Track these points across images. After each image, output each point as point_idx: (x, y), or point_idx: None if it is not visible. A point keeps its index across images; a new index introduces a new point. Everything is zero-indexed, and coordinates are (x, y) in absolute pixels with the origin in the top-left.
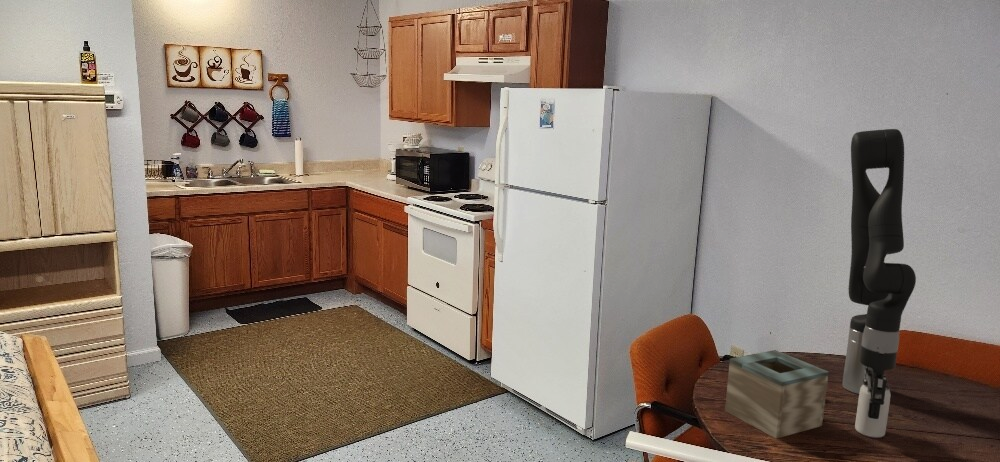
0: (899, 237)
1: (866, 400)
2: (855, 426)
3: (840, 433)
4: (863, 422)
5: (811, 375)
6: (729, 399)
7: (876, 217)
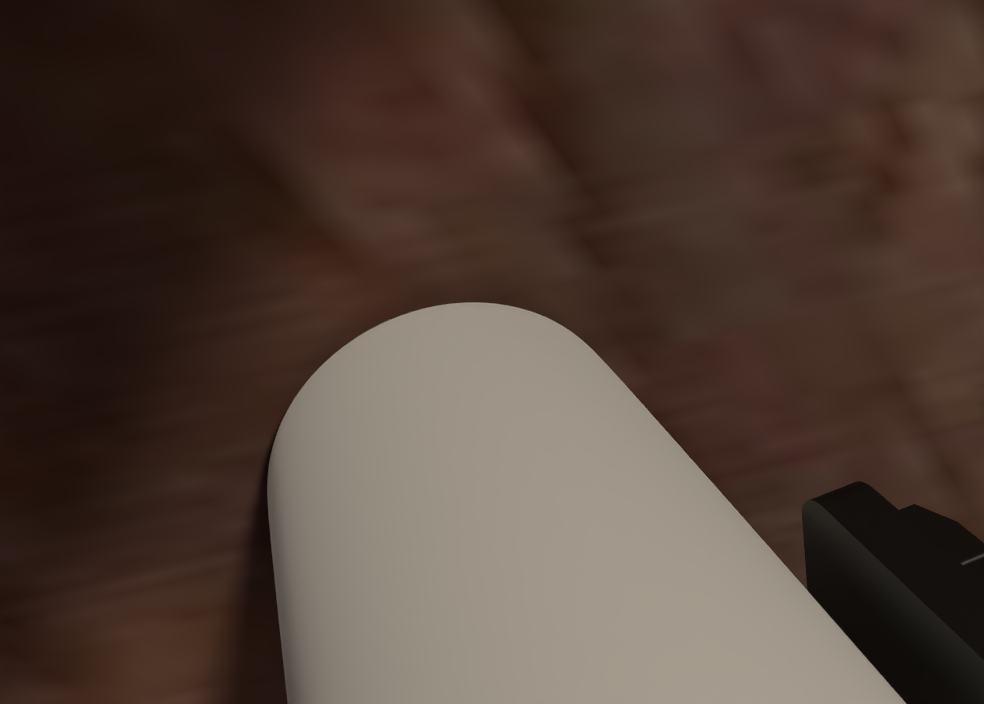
0: None
1: None
2: (392, 333)
3: (84, 163)
4: (294, 527)
5: None
6: None
7: None
